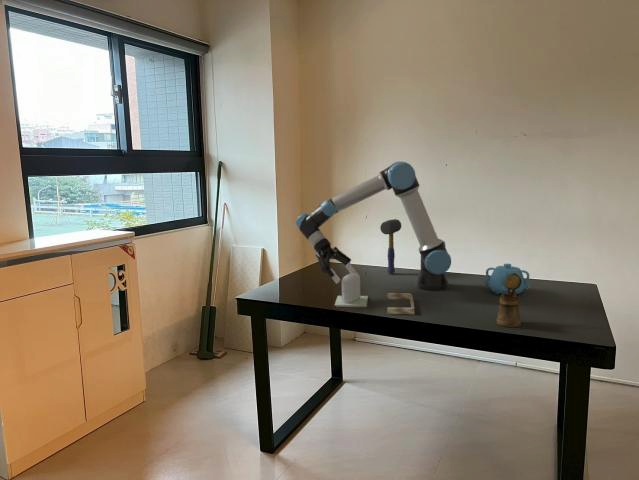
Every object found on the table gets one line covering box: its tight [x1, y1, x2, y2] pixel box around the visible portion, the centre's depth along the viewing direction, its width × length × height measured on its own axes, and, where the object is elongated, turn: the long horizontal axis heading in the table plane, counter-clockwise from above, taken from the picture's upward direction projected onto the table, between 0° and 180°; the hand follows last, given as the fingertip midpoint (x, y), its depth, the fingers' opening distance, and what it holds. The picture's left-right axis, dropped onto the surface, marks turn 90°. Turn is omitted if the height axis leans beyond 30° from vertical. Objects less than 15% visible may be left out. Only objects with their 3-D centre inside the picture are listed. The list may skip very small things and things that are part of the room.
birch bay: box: [386, 292, 415, 315], centre depth 214 cm, size 11×22×2 cm, turn 172°
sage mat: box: [334, 295, 369, 308], centre depth 222 cm, size 14×14×1 cm
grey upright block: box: [341, 272, 361, 303], centre depth 221 cm, size 10×4×12 cm, turn 140°
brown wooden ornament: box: [496, 273, 522, 328], centre depth 189 cm, size 9×14×18 cm, turn 148°
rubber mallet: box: [379, 218, 402, 275], centre depth 268 cm, size 12×8×30 cm, turn 143°
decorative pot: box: [484, 263, 531, 295], centre depth 229 cm, size 16×16×14 cm
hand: (347, 278), depth 221 cm, fingers open, 13 cm apart
